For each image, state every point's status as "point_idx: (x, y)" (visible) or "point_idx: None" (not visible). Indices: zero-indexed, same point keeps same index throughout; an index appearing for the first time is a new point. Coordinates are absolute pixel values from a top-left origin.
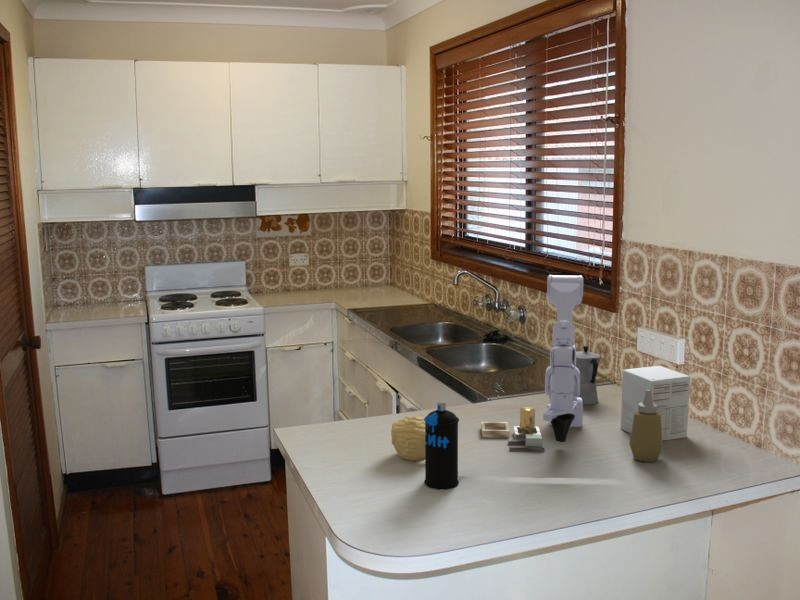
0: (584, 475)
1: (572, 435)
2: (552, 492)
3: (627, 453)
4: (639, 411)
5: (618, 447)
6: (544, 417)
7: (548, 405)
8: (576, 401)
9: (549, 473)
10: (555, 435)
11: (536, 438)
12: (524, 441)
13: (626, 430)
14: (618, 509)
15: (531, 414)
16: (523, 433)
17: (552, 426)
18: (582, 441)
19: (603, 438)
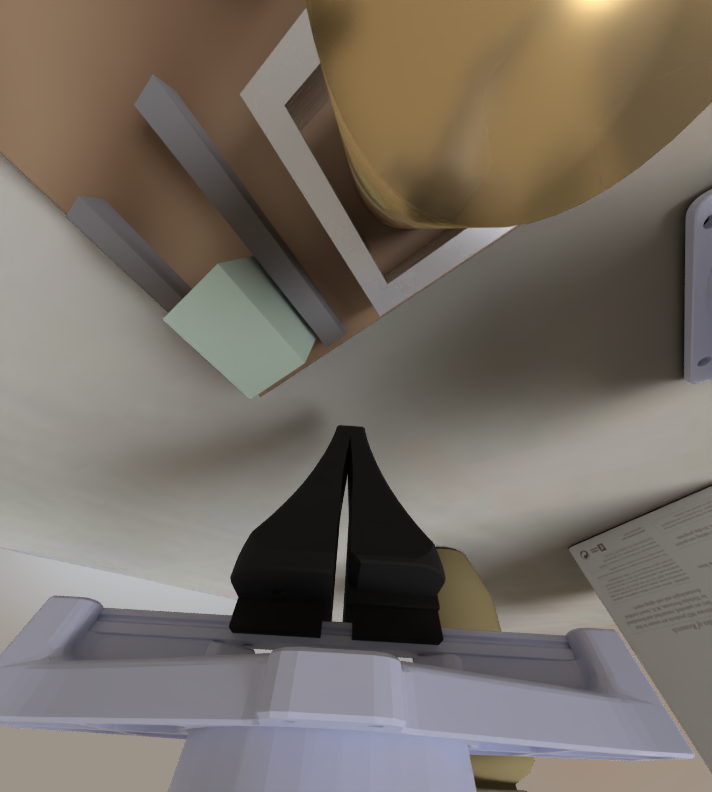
0: (231, 512)
1: (606, 363)
2: (73, 498)
3: (455, 534)
4: (477, 778)
5: (498, 512)
6: (25, 640)
7: (268, 722)
8: (648, 759)
9: (151, 453)
10: (330, 445)
11: (222, 372)
12: (247, 244)
13: (694, 498)
14: (157, 576)
15: (401, 208)
16: (315, 167)
17: (303, 483)
18: (523, 424)
19: (586, 465)
